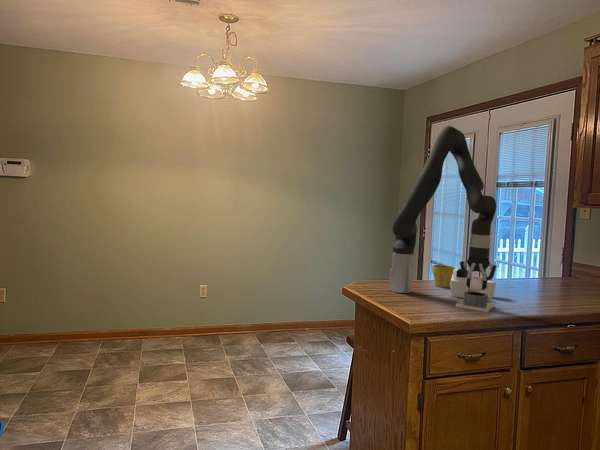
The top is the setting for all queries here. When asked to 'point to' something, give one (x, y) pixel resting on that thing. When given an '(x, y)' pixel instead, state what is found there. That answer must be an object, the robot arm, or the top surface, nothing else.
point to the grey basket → (475, 301)
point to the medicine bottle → (458, 284)
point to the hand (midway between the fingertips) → (476, 288)
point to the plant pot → (442, 275)
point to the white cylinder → (490, 289)
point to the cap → (476, 283)
